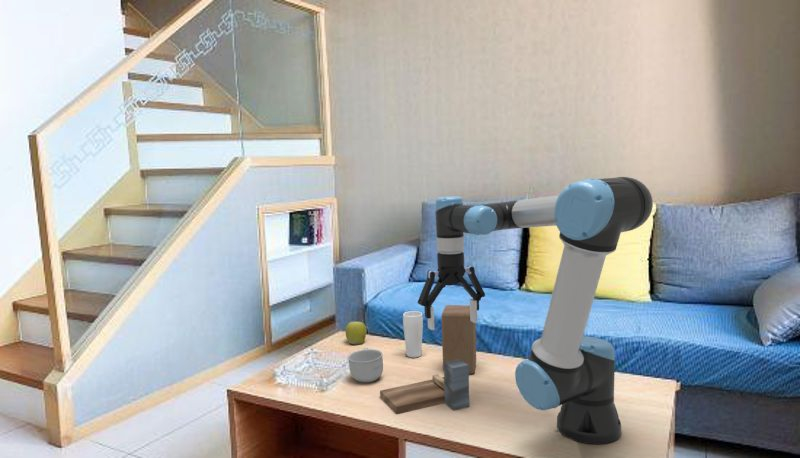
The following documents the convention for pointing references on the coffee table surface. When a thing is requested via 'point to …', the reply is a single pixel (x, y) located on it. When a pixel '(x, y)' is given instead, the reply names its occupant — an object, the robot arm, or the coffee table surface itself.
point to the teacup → (366, 365)
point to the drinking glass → (413, 333)
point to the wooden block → (458, 335)
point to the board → (413, 396)
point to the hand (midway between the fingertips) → (452, 325)
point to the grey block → (455, 384)
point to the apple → (356, 332)
